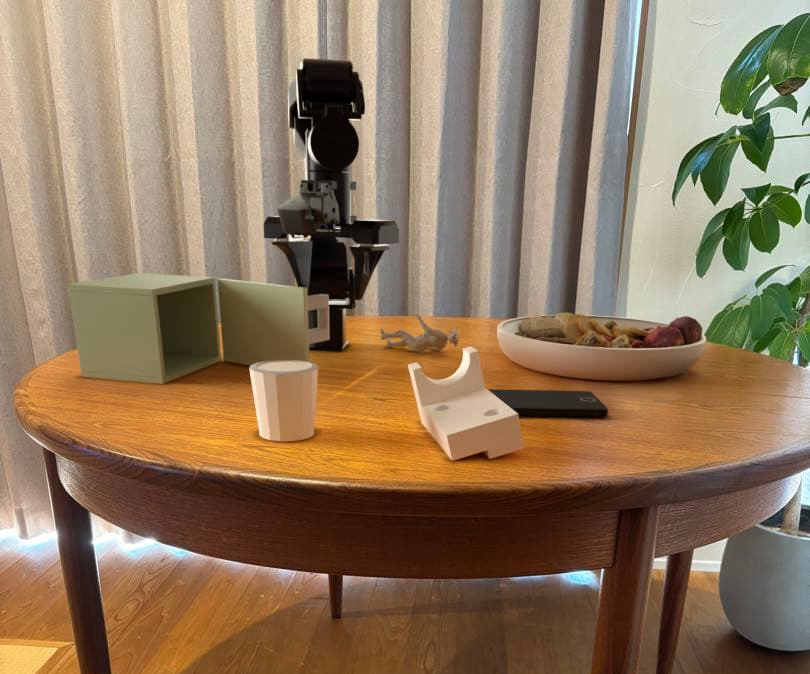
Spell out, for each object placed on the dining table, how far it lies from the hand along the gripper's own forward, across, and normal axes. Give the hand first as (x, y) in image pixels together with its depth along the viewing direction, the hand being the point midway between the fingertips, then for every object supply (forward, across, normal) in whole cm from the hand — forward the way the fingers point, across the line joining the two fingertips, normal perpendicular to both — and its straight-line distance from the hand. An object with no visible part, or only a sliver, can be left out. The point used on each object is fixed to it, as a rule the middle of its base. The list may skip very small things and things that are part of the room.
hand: (330, 297), depth 106 cm
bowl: (+10, +31, +25) cm, 41 cm away
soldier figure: (+10, +5, +17) cm, 20 cm away
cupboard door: (+9, -6, -4) cm, 12 cm away
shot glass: (+10, +16, -30) cm, 35 cm away
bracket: (+10, +32, -22) cm, 39 cm away
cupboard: (+10, -18, -16) cm, 26 cm away
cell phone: (+10, +32, -6) cm, 34 cm away
